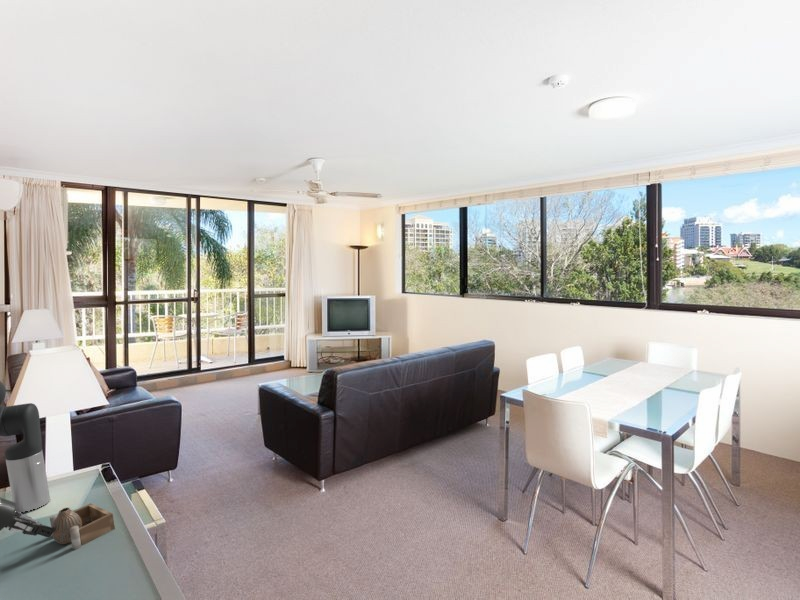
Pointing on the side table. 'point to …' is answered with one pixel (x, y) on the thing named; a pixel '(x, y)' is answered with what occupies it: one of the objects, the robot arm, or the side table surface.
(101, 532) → the housing
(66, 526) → the vase
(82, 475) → the side table surface
